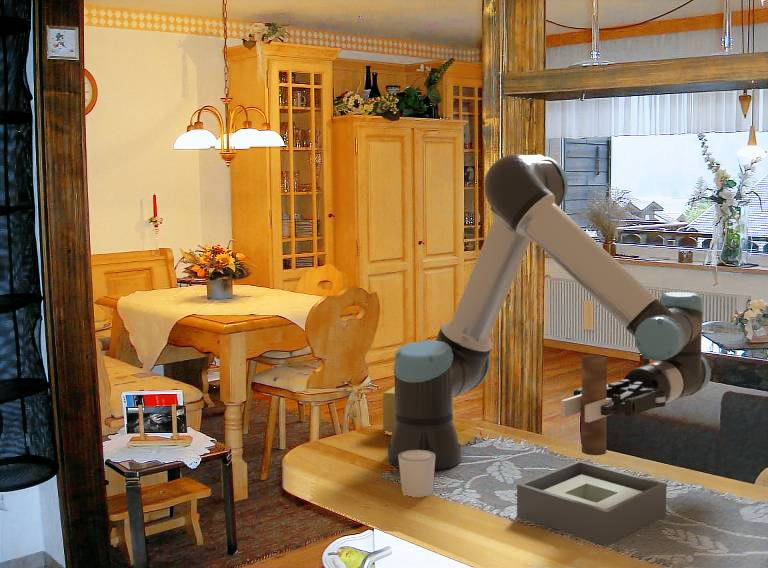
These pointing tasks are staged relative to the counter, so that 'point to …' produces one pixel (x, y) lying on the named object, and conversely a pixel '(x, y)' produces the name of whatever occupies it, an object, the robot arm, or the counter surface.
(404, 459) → the white cup
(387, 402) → the cheese
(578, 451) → the counter surface
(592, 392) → the peg
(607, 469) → the open box
